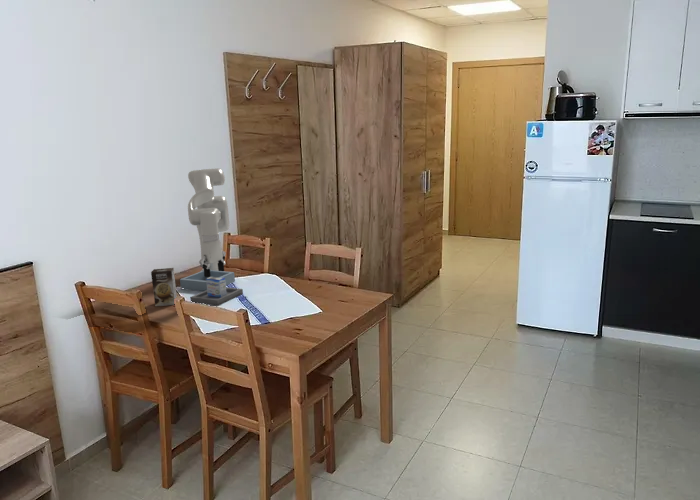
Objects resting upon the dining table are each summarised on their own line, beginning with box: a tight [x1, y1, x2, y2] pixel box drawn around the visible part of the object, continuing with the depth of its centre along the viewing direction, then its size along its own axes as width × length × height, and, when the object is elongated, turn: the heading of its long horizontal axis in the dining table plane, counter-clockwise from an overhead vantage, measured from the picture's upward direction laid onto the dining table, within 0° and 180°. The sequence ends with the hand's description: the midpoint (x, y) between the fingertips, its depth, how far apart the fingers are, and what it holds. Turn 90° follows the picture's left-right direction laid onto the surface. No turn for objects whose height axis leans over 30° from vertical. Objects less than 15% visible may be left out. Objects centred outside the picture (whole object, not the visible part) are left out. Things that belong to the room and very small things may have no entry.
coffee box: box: [150, 267, 178, 307], centre depth 245 cm, size 9×6×16 cm
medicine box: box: [205, 277, 227, 298], centre depth 250 cm, size 8×4×9 cm, turn 66°
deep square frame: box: [179, 270, 236, 292], centre depth 273 cm, size 19×19×5 cm
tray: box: [189, 286, 244, 307], centre depth 251 cm, size 18×16×2 cm
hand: (214, 273), depth 249 cm, fingers open, 9 cm apart
